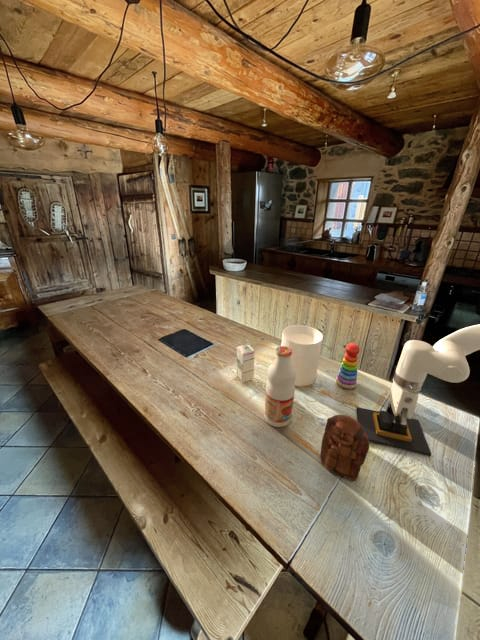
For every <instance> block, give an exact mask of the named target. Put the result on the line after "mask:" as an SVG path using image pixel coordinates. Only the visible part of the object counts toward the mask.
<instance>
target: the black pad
mask: <svg viewBox="0 0 480 640" xmlns="http://www.w3.org/2000/svg"><path fill="white" fill-rule="evenodd" d="M379 412H380V414H379V419H380V423H381V428H384V429H389V426H390V423H391V420H393V418H394V413H392V412H387V411H386V410H383V409H380V411H379ZM397 419H399V420H400V419H401V417H399V416H397ZM407 428H408V427H407V424H406V425H402V428H401V431H400V432H402V433H406V430H407Z"/></svg>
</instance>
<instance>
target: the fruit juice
mask: <svg viewBox="0 0 480 640" xmlns="http://www.w3.org/2000/svg"><path fill="white" fill-rule="evenodd" d="M291 356H292V350H291V348H289V347H286V346H281V345H279V346H277V347H276V349H275V359H274V361H273V362H272V363H271V364H270V365H269V366H268V367H267V378H268V379H267V381H266V384H265V395H264V396H265V398H264V410H263V411H264V412H263V416H264V417H263V418H264V419H265V421H266V422H267V424H268V425H270V426H272V427H276V428H283V427H285V426H287V425H289V424H290V422H291V420H292V415H293V406H294V398H295V393H296V386H295V385H294V381H295V379H296V370H295V368H294V367H293V365H292V363H291V360H290V357H291Z"/></svg>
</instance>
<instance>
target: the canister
mask: <svg viewBox="0 0 480 640" xmlns="http://www.w3.org/2000/svg"><path fill="white" fill-rule="evenodd" d="M323 338H324V335H323V333H322V332H321V331H320V330H319V329H316V328H315V327H312V326H309V325H304V324H294V325H289V326H286V327H285V328H284V329H283V330H282V333H281V344H280V346H286V347H289V348H291V350H292V356H291V357H290V360H291V363H292V365H293V367H294V368H295V370H296V379H295V381H294V385H295V387H307V386H311V385H312V384H314V382H316V379H317V374H318V368H319V362H320V357H321V350H322V345H323Z"/></svg>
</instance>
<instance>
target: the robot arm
mask: <svg viewBox="0 0 480 640" xmlns="http://www.w3.org/2000/svg"><path fill="white" fill-rule="evenodd" d="M477 351H480V323H479V324H474V325H470V326H466V327H464V328H463V327H462V328H460V329H458V330H456V331H454V332H452V333H450V334H448V335H446V336H444V337H443V338H441V339H439V340H438V341H437V342H435V343H434V344H433V345H431V344H430V343H428V342H426V341H423V340H419V339H412V340H411V339H410V340H407V341H406V342H405V343H404V345H403V348H402V350H401V354H400V357H399V360H398V362H397V365H396V369H395V371H394V375H393V377H392V385H391V386H390V390H389V392H388V393H389V394H388V399H389V402H388V403H387V404H388V406H387V408H386V409H385V411H387V412H392V413H394V418H393V420H391V423H390V426H389V430H390V431H394V432H400V431H401V428H402V425H406V420H407V418H408V419H411V418H412V419H413V417H414V414H415V410H416V407H417V404H418V400H419V395H420V394H419V393H420V391H421V390H422V388H423V385H424V383H425V380H426V378H427V376H428V375H431V376H432V377H435V378H437V379H440V380H442V381H444V382H448V383H456V384H457V383H461V382H464V381H466V380H467V379H468V378H469V376H470V372H471V369H470V366H469V362H468V361H467V357H466V356H469V355H471V354H472V353H474V352H477ZM397 416H399V417H401V419H400V420H399V419H397Z"/></svg>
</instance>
